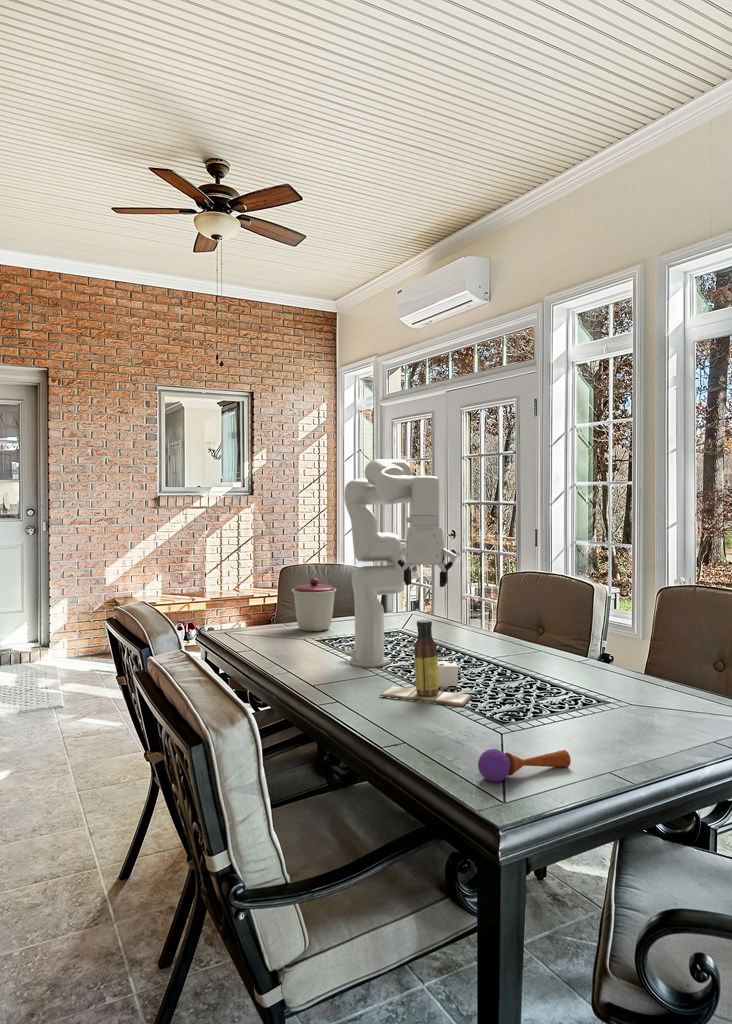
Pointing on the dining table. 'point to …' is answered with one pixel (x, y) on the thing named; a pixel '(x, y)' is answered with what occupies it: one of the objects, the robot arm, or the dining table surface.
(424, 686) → the sauce bottle
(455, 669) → the die
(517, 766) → the kendama
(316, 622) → the canister
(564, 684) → the dining table surface
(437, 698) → the board
